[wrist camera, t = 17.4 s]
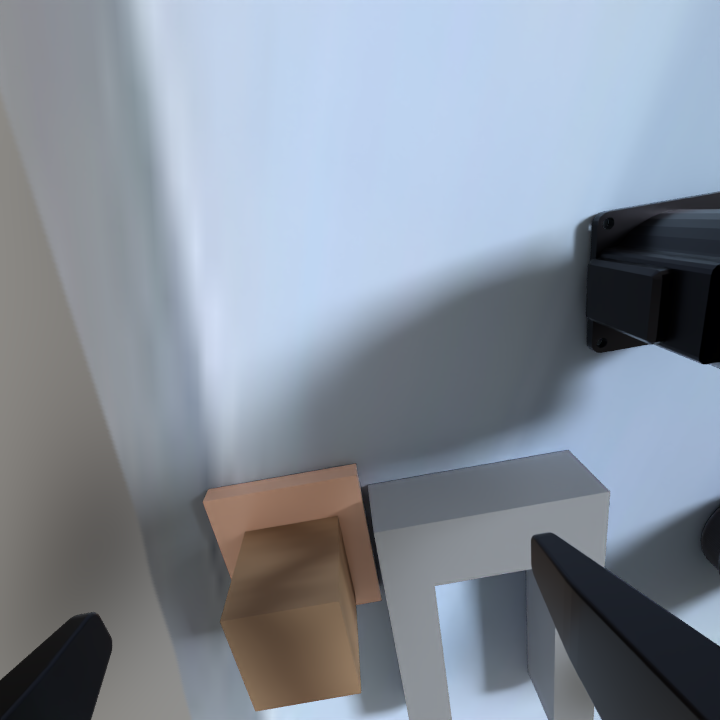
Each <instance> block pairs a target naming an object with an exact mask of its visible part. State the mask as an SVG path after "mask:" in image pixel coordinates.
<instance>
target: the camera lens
mask: <svg viewBox="0 0 720 720" xmlns="http://www.w3.org/2000/svg"><path fill="white" fill-rule="evenodd" d="M701 546H702V550H703V553H704V555H705V556H706V558H707V559H708V560H709V561H710V562H711V563H712V564H713V565H714V566H715V567H716V568H717V569H718V570H719V573H720V507H719V508H718V509H717V510H716V511H715V513H714V514H713V515H712V516H711V517H710V519H709V520H708V522H707V524H706V526H705V528H704V530H703V533H702V538H701Z"/></svg>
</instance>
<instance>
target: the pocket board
mask: <svg viewBox="0 0 720 720" xmlns="http://www.w3.org/2000/svg"><path fill="white" fill-rule="evenodd" d="M368 492H369V500H370V507H371V515H372V523H373V531H374V537H375V542H376V547H377V553H378V558H379V563H380V568H381V574H382V579H383V584H384V590H385V595H386V600H387V605H388V611H389V616H390V621H391V626H392V632H393V637H394V642H395V648H396V653H397V658H398V663H399V669H400V674H401V679H402V684H403V690H404V695H405V700H406V705H407V711H408V716H409V720H452V717H451V709H450V702H449V694H448V686H447V678H446V670H445V663H444V655H443V647H442V639H441V632H440V624H439V616H438V608H437V601H436V593H435V586H438V585H443V584H449V583H455V582H460V581H466V580H472V579H478V578H483V577H489V576H495V575H500V574H506V573H512V572H517V571H523V570H526V599H527V653H528V673H529V676H530V678H531V680H532V683H533V685H534V687H535V690H536V692H537V694H538V697H539V699H540V701H541V704H542V706H543V708H544V711H545V713H546V715H547V718H548V720H593V717H594V704H593V702H592V701H591V699H590V697H589V695H588V693H587V691H586V689H585V688H584V686H583V684H582V682H581V680H580V678H579V676H578V675H577V673H576V671H575V669H574V667H573V665H572V663H571V661H570V659H569V657H568V655H567V652H566V650H565V648H564V646H563V643H562V641H561V639H560V636H559V634H558V632H557V629H556V627H555V625H554V622H553V620H552V618H551V615H550V613H549V611H548V608H547V606H546V604H545V601H544V599H543V597H542V594H541V592H540V590H539V587H538V585H537V582H536V580H535V578H534V575H533V572H532V567H531V538H532V536H533V535H536V534H541V533H547V532H551V533H554V534H556V535H557V536H559V537H560V538H562V539H563V540H565V541H566V542H567V543H569V544H570V545H572V546H573V547H575V548H576V549H578V550H579V551H581V552H582V553H584V554H585V555H586V556H588V557H589V558H591V559H592V560H594V561H595V562H597V563H598V564H600V565H601V566H603V567H605V554H606V540H607V527H608V513H609V499H610V491H609V490H608V489H607V488H606V487H605V486H604V485H603V484H602V483H601V482H600V481H599V480H598V479H597V478H596V477H595V476H594V475H593V474H592V473H591V472H590V471H589V470H588V469H587V468H586V467H585V466H584V465H583V464H582V463H581V462H580V461H579V460H578V459H577V458H576V457H575V456H574V455H573V454H572V453H571V452H570V451H569V450H566V451H560V452H555V453H549V454H543V455H537V456H532V457H526V458H520V459H514V460H509V461H503V462H497V463H492V464H486V465H480V466H474V467H469V468H463V469H457V470H451V471H446V472H440V473H434V474H428V475H423V476H417V477H411V478H406V479H400V480H394V481H388V482H383V483H377V484H371V485H368Z"/></svg>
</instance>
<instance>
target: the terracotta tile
mask: <svg viewBox="0 0 720 720" xmlns="http://www.w3.org/2000/svg"><path fill="white" fill-rule="evenodd" d="M203 504H204V507H205V509H206V512H207V515H208V518H209V520H210V523H211V526H212V528H213V531H214V534H215V536H216V539H217V542H218V545H219V547H220V550H221V553H222V555H223V558H224V561H225V564H226V566H227V569H228V572H229V574H230V577H231V580H232V577H233V573H234V569H235V566H236V562H237V559H238V555H239V551H240V548H241V544H242V541H243V537H244V533H245V532H246V531H251V530H257V529H263V528H269V527H275V526H281V525H287V524H293V523H298V522H304V521H310V520H316V519H322V518H328V517H334V516H338V519H339V523H340V528H341V532H342V537H343V541H344V546H345V550H346V555H347V560H348V564H349V569H350V573H351V578H352V582H353V587H354V591H355V596H356V605H360V604H365V603H371V602H377V601H382V599H381V591H380V584H379V579H378V574H377V569H376V564H375V558H374V553H373V548H372V543H371V538H370V533H369V528H368V522H367V517H366V512H365V507H364V502H363V497H362V492H361V486H360V481H359V476H358V471H357V466H356V464H351V465H345V466H339V467H333V468H328V469H322V470H316V471H310V472H305V473H299V474H293V475H287V476H282V477H276V478H270V479H264V480H259V481H253V482H247V483H241V484H236V485H230V486H224V487H219V488H213V489H208V491H207V494H206V496H205V498H204V500H203Z"/></svg>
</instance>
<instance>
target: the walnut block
mask: <svg viewBox="0 0 720 720" xmlns="http://www.w3.org/2000/svg"><path fill="white" fill-rule="evenodd" d="M220 623H221V626H222V628H223V631H224V633H225V636H226V638H227V641H228V643H229V646H230V648H231V651H232V653H233V656H234V658H235V661H236V663H237V666H238V669H239V671H240V674H241V676H242V679H243V681H244V684H245V686H246V689H247V691H248V694H249V696H250V699H251V701H252V704H253V706H254V709H255V711H261V710H267V709H272V708H278V707H284V706H290V705H296V704H301V703H307V702H313V701H319V700H324V699H330V698H336V697H342V696H348V695H353V694H359V693H361V679H360V662H359V645H358V628H357V611H356V596H355V591H354V587H353V582H352V578H351V573H350V569H349V564H348V560H347V555H346V550H345V546H344V541H343V537H342V532H341V528H340V523H339V519H338V516H334V517H328V518H322V519H316V520H310V521H304V522H298V523H293V524H287V525H281V526H275V527H269V528H263V529H257V530H251V531H246V532H245V533H244V537H243V541H242V544H241V548H240V551H239V555H238V559H237V562H236V566H235V569H234V573H233V577H232V580H231V584H230V587H229V591H228V595H227V598H226V602H225V605H224V609H223V613H222V616H221V620H220Z"/></svg>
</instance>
